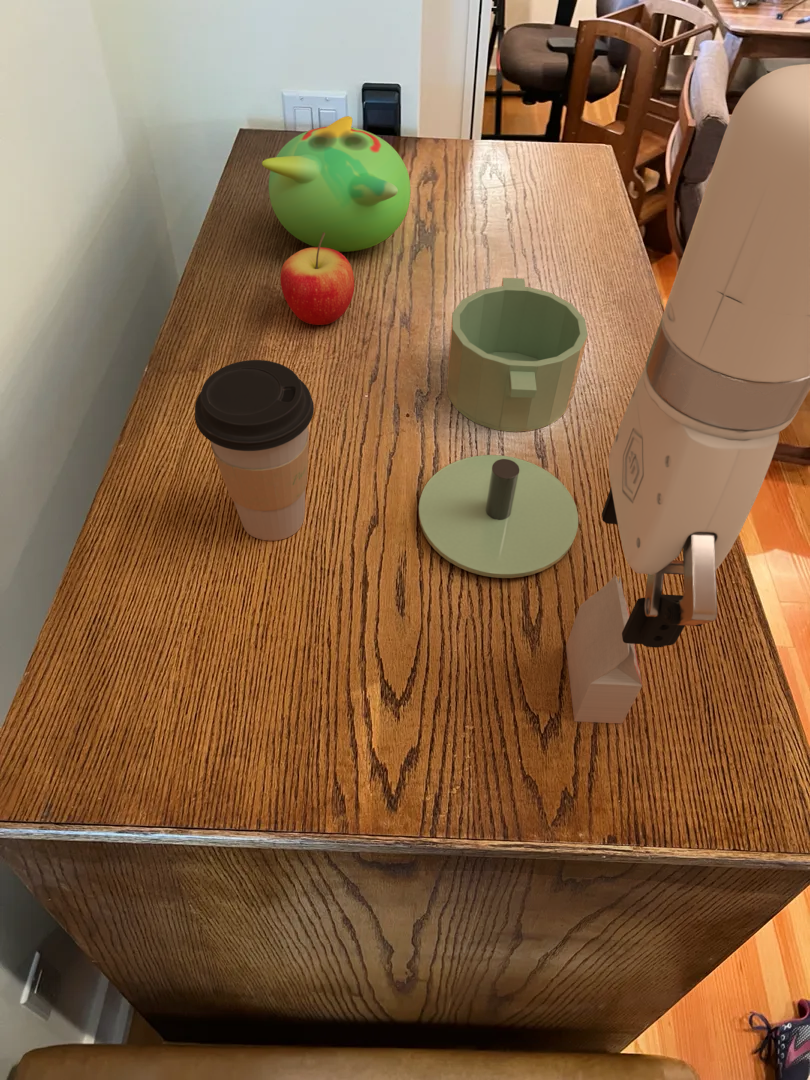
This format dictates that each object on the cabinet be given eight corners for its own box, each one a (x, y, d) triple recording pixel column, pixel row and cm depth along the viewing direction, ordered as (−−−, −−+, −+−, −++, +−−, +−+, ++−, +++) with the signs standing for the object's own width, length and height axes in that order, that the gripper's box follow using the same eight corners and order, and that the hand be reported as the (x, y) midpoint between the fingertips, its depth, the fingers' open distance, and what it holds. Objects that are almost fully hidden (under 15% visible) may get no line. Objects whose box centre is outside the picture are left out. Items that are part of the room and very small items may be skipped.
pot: (562, 340, 90) (576, 274, 84) (579, 452, 78) (598, 386, 72) (446, 335, 90) (452, 269, 84) (446, 446, 78) (452, 380, 72)
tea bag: (574, 721, 59) (603, 653, 51) (565, 646, 63) (591, 573, 56) (622, 723, 59) (658, 656, 51) (610, 648, 63) (642, 575, 56)
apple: (368, 311, 93) (367, 233, 85) (326, 346, 88) (321, 267, 81) (314, 289, 96) (308, 212, 88) (270, 322, 91) (260, 243, 83)
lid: (567, 466, 77) (581, 415, 72) (584, 586, 67) (601, 537, 62) (420, 460, 77) (422, 408, 72) (416, 578, 67) (418, 529, 62)
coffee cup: (336, 540, 70) (327, 414, 58) (234, 569, 68) (204, 444, 56) (306, 470, 75) (292, 343, 64) (211, 495, 73) (179, 367, 62)
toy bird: (414, 217, 108) (418, 104, 96) (401, 283, 97) (404, 165, 86) (288, 207, 109) (277, 94, 97) (261, 272, 98) (245, 154, 86)
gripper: (625, 264, 43) (564, 479, 56) (687, 491, 32) (593, 692, 45) (760, 271, 43) (667, 484, 56) (868, 500, 32) (721, 699, 45)
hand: (634, 577), depth 50 cm, fingers open, 9 cm apart
